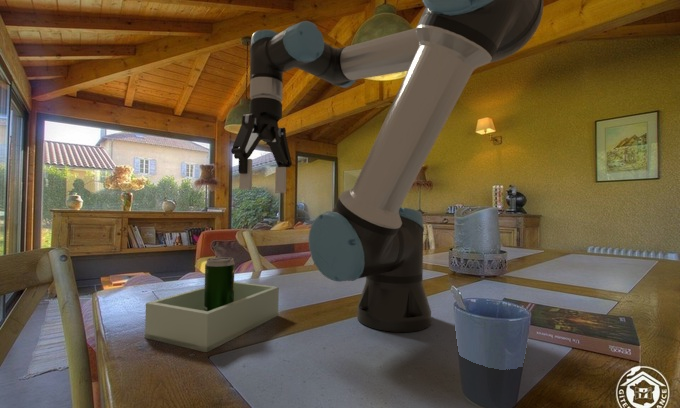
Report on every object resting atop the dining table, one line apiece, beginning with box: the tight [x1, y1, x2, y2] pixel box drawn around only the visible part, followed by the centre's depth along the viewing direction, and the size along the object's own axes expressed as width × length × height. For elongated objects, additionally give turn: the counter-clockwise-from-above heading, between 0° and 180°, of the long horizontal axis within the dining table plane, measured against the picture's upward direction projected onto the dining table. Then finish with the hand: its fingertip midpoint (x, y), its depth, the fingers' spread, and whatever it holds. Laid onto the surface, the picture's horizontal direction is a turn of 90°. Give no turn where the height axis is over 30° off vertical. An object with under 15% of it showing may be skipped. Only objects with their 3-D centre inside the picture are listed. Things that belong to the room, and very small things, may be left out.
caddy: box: [144, 281, 280, 353], centre depth 63 cm, size 14×20×6 cm
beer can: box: [204, 256, 236, 311], centre depth 63 cm, size 5×5×12 cm
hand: (264, 191), depth 77 cm, fingers open, 13 cm apart
